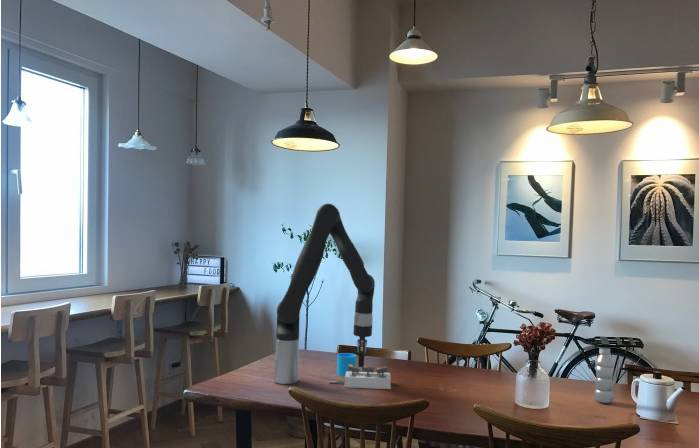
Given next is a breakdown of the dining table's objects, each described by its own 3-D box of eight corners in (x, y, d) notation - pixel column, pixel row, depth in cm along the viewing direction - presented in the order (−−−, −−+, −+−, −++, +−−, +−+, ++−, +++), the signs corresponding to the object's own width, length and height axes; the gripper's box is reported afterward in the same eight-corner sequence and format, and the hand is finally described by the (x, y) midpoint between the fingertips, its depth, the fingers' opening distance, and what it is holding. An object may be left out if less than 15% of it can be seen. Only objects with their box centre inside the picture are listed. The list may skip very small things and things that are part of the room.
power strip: (328, 386, 211) (328, 374, 211) (330, 380, 220) (330, 368, 220) (390, 389, 210) (391, 376, 210) (390, 382, 219) (390, 370, 219)
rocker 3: (377, 374, 214) (376, 369, 214) (377, 372, 217) (376, 368, 217) (388, 371, 214) (387, 367, 214) (388, 369, 217) (387, 365, 217)
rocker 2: (362, 371, 214) (362, 367, 215) (362, 369, 218) (362, 365, 218) (373, 372, 214) (373, 368, 214) (373, 370, 217) (373, 366, 218)
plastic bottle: (596, 398, 203) (597, 345, 204) (615, 402, 199) (616, 348, 199) (591, 402, 198) (592, 348, 199) (611, 406, 194) (612, 351, 194)
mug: (353, 377, 226) (353, 357, 226) (334, 375, 228) (335, 356, 228) (359, 370, 238) (360, 352, 238) (341, 369, 240) (342, 350, 240)
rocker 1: (347, 370, 215) (348, 366, 215) (347, 368, 218) (349, 364, 218) (358, 373, 215) (359, 369, 215) (358, 371, 218) (359, 367, 218)
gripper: (354, 320, 223) (352, 362, 223) (353, 326, 210) (351, 370, 210) (372, 321, 223) (370, 363, 223) (372, 327, 210) (370, 371, 210)
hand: (360, 366), depth 216 cm, fingers closed
